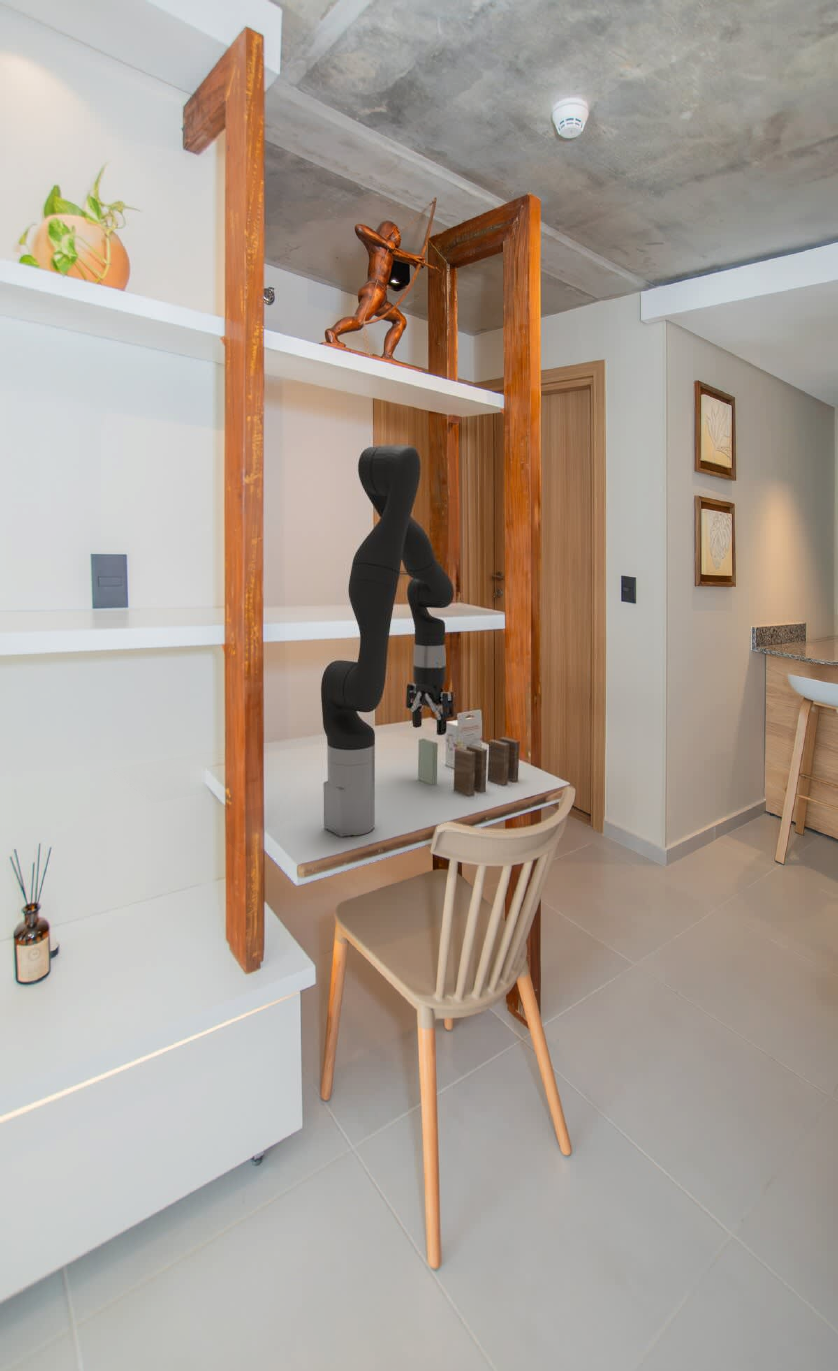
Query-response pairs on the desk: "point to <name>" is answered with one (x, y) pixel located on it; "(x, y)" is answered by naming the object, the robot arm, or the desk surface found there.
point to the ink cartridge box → (463, 734)
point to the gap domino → (427, 761)
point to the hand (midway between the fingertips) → (429, 730)
